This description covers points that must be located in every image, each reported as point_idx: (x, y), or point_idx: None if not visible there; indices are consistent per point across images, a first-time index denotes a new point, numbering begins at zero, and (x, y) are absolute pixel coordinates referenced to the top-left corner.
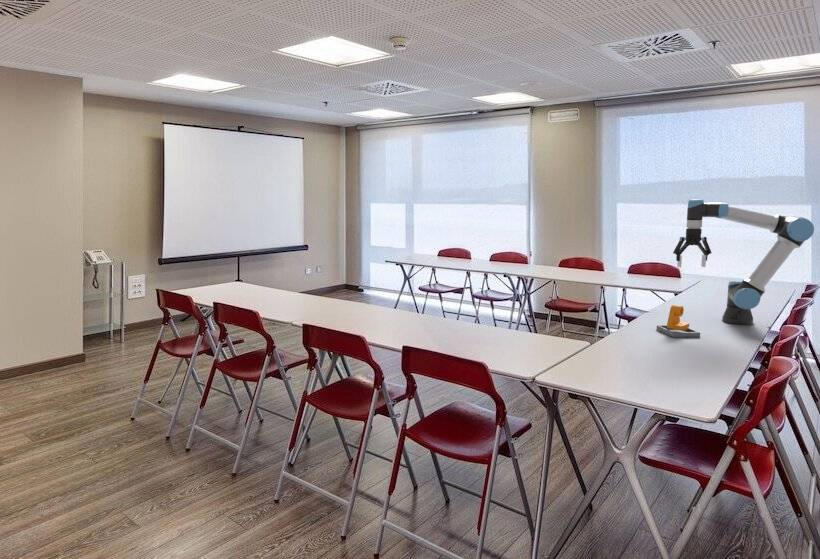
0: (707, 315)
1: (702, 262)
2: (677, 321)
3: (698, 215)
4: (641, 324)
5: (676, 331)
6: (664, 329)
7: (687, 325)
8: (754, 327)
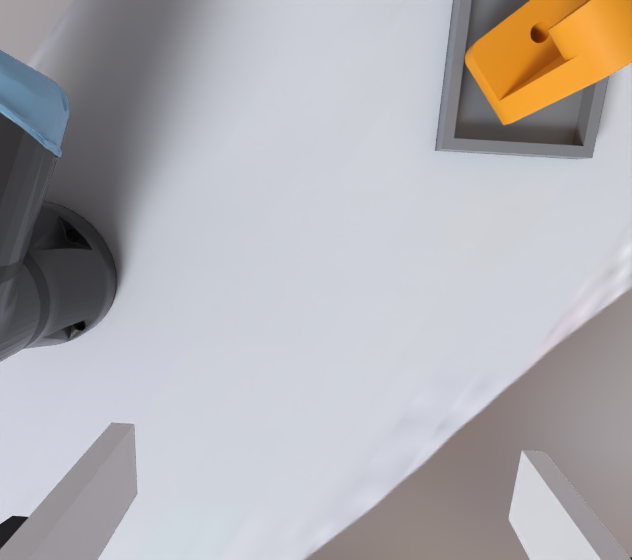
0: None
1: (102, 523)
2: (536, 74)
3: None
4: (571, 287)
5: None
6: None
7: (496, 26)
8: None
